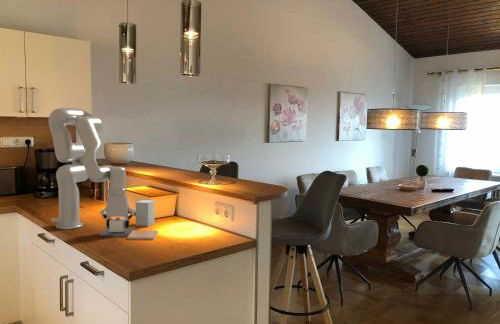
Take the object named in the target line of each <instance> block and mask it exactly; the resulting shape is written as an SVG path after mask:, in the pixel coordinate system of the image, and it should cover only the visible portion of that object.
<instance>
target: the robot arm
mask: <svg viewBox="0 0 500 324" xmlns="http://www.w3.org/2000/svg"><path fill="white" fill-rule="evenodd" d="M48 126H49V130H50V133H51V137H52V142H53V148H54V154H55V156H56V159H57V161H58V162H60V163H70V164H64V165H62V166H60V167H58V168H57V170H56V173H55V175H56V178H55V179H56V182H57V187H58V217H57V218H56V217H54V218H53V217H52V218H51V219H50V221H51V223H54V224H55V223H56V224H55V228H56V229H60V230H72V229H78V228H82V227H83V225H84V223H83V222H81V221H80V189H79V187H78V185H77V183H80V182H85V181H87V180H88V179H89V180H90V181H91V182H92V183H93V182H94V183H101V182H107V181H109V189H107V190H106V193H108V195H107V198H106V207H105V208H104V209H102V210H101V211H99V213H100V215H101V216H102V217H103V218H104V219H105V221H106V228H108V229H109V221H110V220H111V217H123V218H125V219H126V221H125V229H127V228H128V227H130V219H132V218H133V216H134V215H136V210H134V209H133V208H131V207H130V205H129V197H128V194H127V191H126V190H127V170H126V168H125V167H123V166H113V165H108V164H107V165H98V162H97V160H96V159H97V158H96V153H97V151H98V150H100V148H101V147H102V145H103V143H102V141H101V137H100V136H99V133H101V132H102V131H103V128H104V125H103V122H102V120H101V119H100V118H99V117H98V116H96V115H94V114H92V113H89V112H88V111H87V110H83V109H81V108H75V107H74V108H70V107H59V108H55V109H53V110H52V111H51V113H50V114H49V117H48ZM67 126H75V130H76V132H77V134H78V136H79V139H80V141H81V143H79V142H73V140H72V134H71V133H70V130H69V128H67ZM71 163H72V164H71ZM129 213H130V215H129Z"/></svg>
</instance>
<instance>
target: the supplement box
mask: <svg viewBox="0 0 500 324" xmlns="http://www.w3.org/2000/svg"><path fill="white" fill-rule="evenodd" d="M154 224H155V200H153V199H152V200H150V199H149V200H148V199H141V200H139V201H136V202H135V226H139V227H150V226H153V225H154Z"/></svg>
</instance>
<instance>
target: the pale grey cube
mask: <svg viewBox="0 0 500 324" xmlns="http://www.w3.org/2000/svg"><path fill="white" fill-rule="evenodd" d="M125 221H126V219H125V217H112V218H110V221H109V232H123V231H124V230H125Z"/></svg>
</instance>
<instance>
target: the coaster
mask: <svg viewBox="0 0 500 324" xmlns="http://www.w3.org/2000/svg"><path fill="white" fill-rule="evenodd" d="M157 235H158V230H134V231H132V232H131V233H130V235H129V236H128V237H126V240H141V241H144V240H145V241H146V240H149V241H150V240H153V241H154V240H155V238H156V236H157Z"/></svg>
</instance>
